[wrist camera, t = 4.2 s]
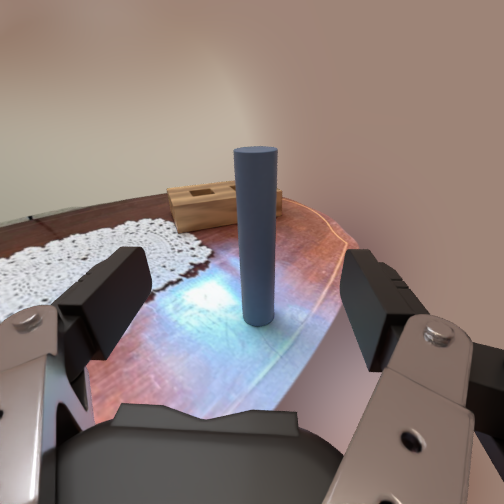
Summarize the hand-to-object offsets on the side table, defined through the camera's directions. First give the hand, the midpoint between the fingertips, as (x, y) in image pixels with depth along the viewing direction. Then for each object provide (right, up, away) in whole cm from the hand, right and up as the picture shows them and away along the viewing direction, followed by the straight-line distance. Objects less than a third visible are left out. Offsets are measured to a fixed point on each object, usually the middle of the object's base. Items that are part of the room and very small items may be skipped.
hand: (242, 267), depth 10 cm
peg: (+1, -6, +16) cm, 17 cm away
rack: (-5, +8, +42) cm, 43 cm away
